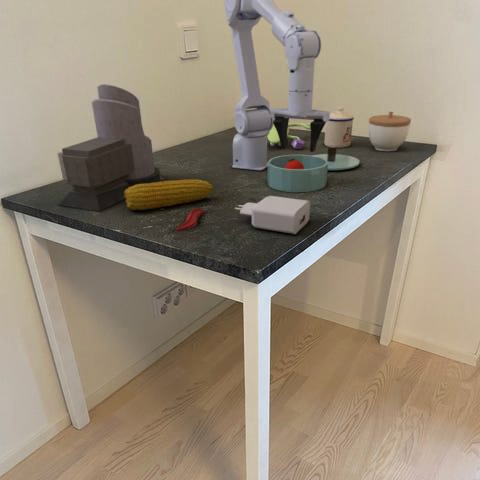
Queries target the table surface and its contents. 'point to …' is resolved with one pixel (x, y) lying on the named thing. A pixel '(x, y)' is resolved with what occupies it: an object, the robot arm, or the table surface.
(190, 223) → the cayenne pepper
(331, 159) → the pan lid
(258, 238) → the table surface
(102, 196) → the grey piece
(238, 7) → the robot arm
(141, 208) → the food
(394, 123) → the lidded bowl
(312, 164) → the pan
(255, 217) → the charger
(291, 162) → the tomato
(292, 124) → the figurine
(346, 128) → the teacup with lid
